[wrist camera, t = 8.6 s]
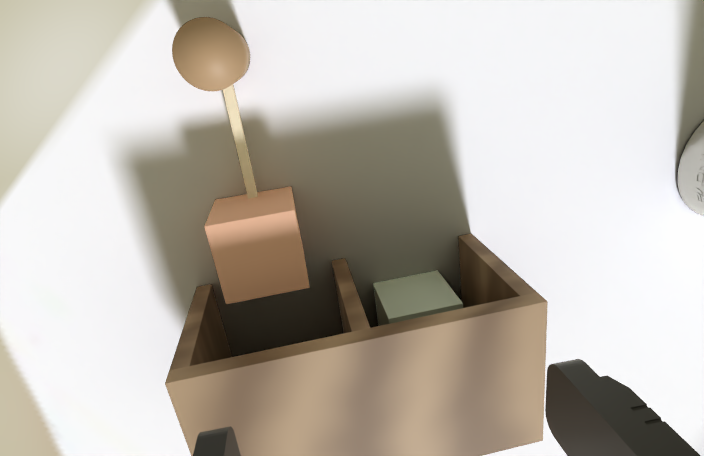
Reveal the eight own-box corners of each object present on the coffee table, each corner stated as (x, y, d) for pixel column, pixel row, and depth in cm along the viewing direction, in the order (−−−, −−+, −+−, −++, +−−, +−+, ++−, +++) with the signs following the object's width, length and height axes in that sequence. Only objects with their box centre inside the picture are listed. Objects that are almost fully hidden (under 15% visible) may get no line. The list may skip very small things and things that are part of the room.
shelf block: (437, 269, 34) (462, 303, 29) (440, 325, 36) (465, 364, 31) (372, 282, 34) (388, 319, 29) (380, 338, 35) (396, 380, 31)
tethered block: (259, 19, 26) (255, 9, 20) (304, 254, 32) (311, 295, 26) (170, 31, 26) (142, 24, 20) (232, 267, 31) (224, 313, 26)
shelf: (471, 233, 33) (547, 301, 24) (475, 344, 37) (542, 440, 28) (196, 286, 31) (165, 383, 22) (230, 398, 35) (215, 521, 26)
